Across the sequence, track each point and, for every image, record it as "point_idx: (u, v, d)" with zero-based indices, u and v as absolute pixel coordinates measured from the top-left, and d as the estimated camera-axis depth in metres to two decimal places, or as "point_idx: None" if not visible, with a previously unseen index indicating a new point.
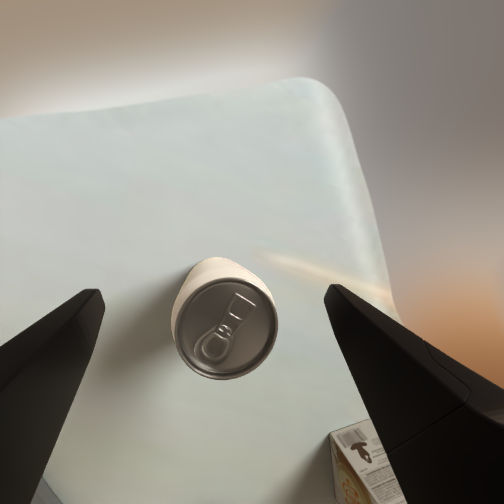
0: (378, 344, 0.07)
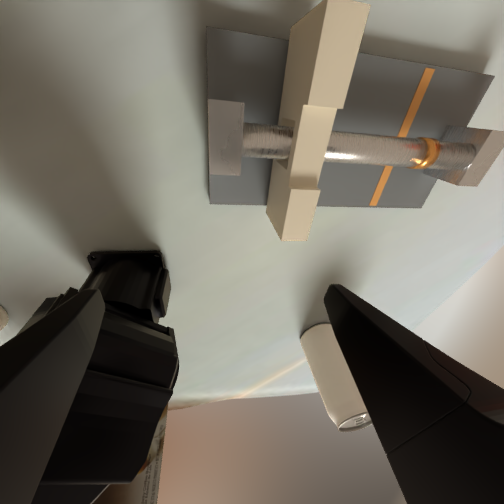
0: (378, 344, 0.07)
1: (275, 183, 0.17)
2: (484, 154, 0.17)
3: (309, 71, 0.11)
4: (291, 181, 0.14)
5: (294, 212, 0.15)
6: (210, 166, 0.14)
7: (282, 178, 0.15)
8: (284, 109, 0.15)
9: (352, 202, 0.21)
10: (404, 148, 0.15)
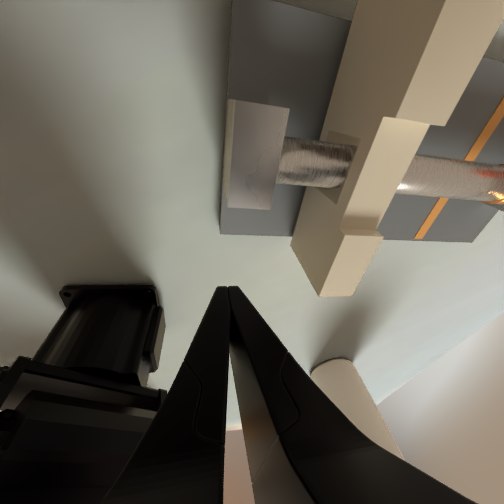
0: (243, 357, 0.06)
1: (310, 215, 0.13)
2: None
3: (405, 64, 0.07)
4: (343, 222, 0.10)
5: (342, 263, 0.10)
6: (229, 197, 0.10)
7: (324, 212, 0.11)
8: (335, 119, 0.10)
9: (395, 234, 0.17)
10: (490, 179, 0.11)
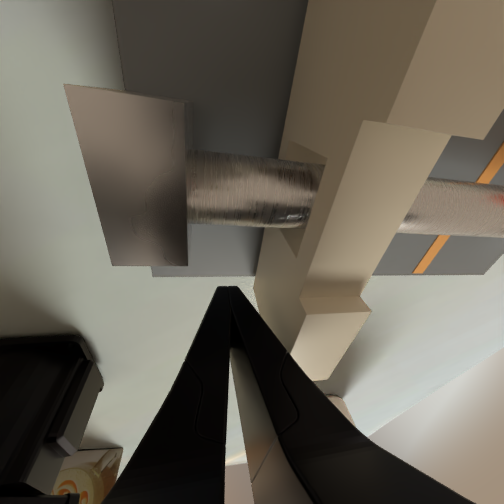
0: (242, 356, 0.06)
1: (270, 259, 0.09)
2: None
3: (406, 5, 0.03)
4: (306, 289, 0.06)
5: (308, 347, 0.07)
6: (111, 251, 0.06)
7: (284, 263, 0.07)
8: (295, 123, 0.07)
9: (388, 269, 0.14)
10: None
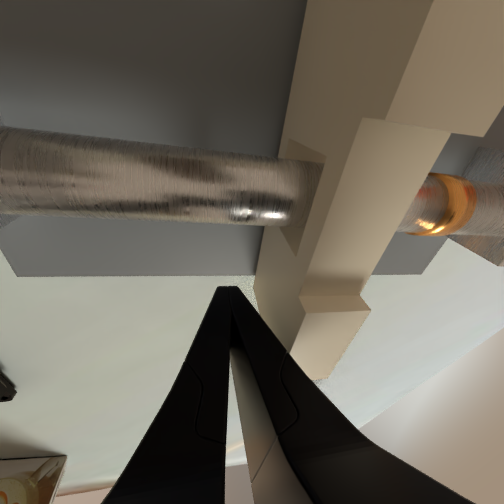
0: (242, 356, 0.06)
1: (270, 258, 0.09)
2: None
3: (405, 0, 0.03)
4: (306, 288, 0.06)
5: (308, 346, 0.07)
6: None
7: (283, 262, 0.07)
8: (295, 122, 0.07)
9: None
10: None
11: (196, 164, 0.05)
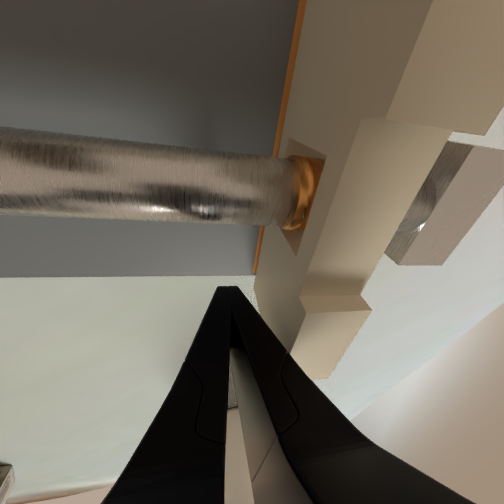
0: (242, 357, 0.06)
1: (270, 258, 0.09)
2: (454, 204, 0.07)
3: None
4: (306, 288, 0.06)
5: (308, 346, 0.07)
6: None
7: (283, 262, 0.07)
8: (295, 121, 0.07)
9: (216, 268, 0.11)
10: (226, 186, 0.05)
11: None
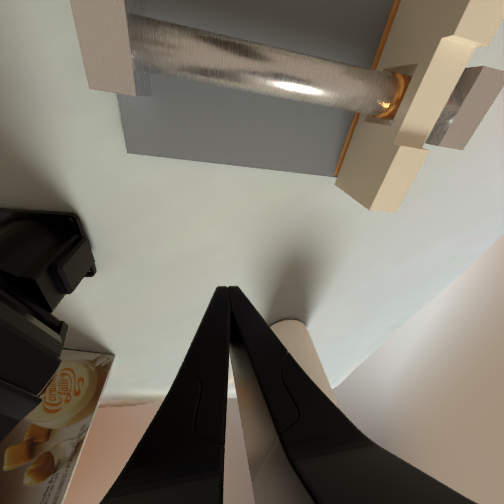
0: (243, 356, 0.06)
1: (360, 147, 0.15)
2: (472, 103, 0.13)
3: None
4: (397, 138, 0.12)
5: (393, 175, 0.13)
6: (88, 75, 0.10)
7: (377, 138, 0.14)
8: (390, 57, 0.13)
9: (313, 168, 0.17)
10: (366, 81, 0.12)
11: (261, 47, 0.10)
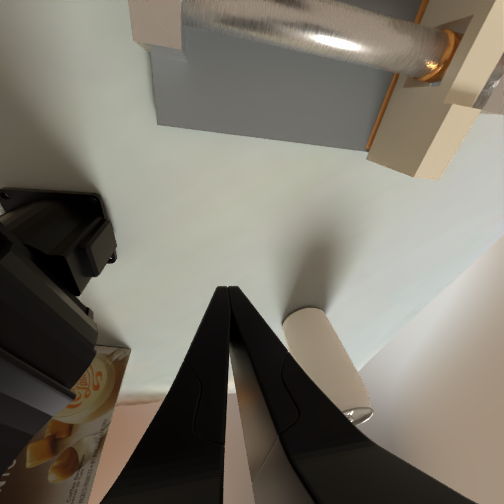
0: (243, 357, 0.06)
1: (399, 115, 0.15)
2: None
3: None
4: (447, 97, 0.12)
5: (442, 137, 0.12)
6: (133, 24, 0.09)
7: (421, 101, 0.13)
8: (436, 15, 0.12)
9: (345, 142, 0.17)
10: (417, 35, 0.11)
11: None
